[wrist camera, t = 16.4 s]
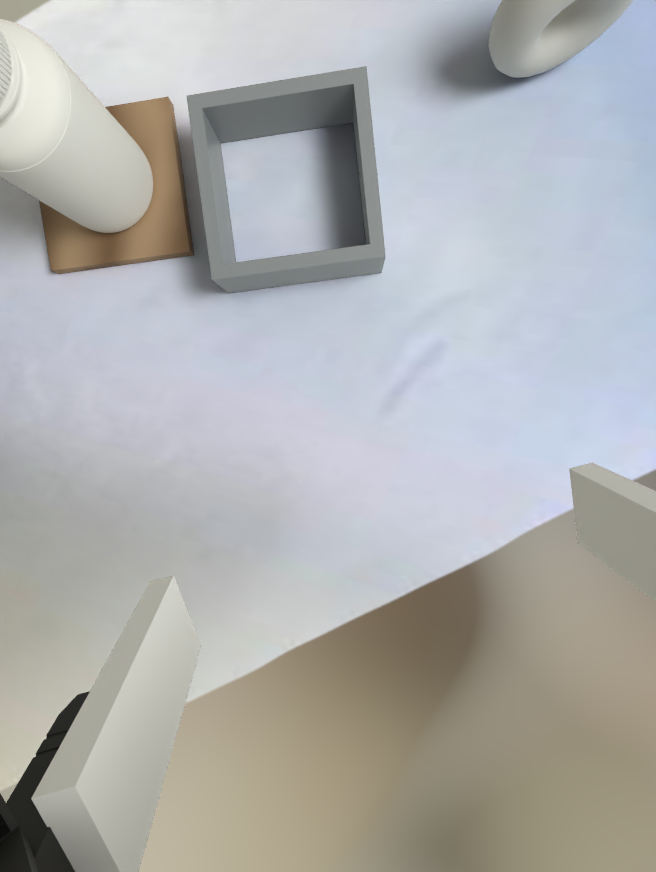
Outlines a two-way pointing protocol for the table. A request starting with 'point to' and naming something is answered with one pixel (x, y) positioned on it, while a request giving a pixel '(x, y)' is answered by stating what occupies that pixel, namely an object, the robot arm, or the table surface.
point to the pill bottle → (65, 139)
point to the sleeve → (270, 115)
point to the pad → (162, 222)
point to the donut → (547, 32)
